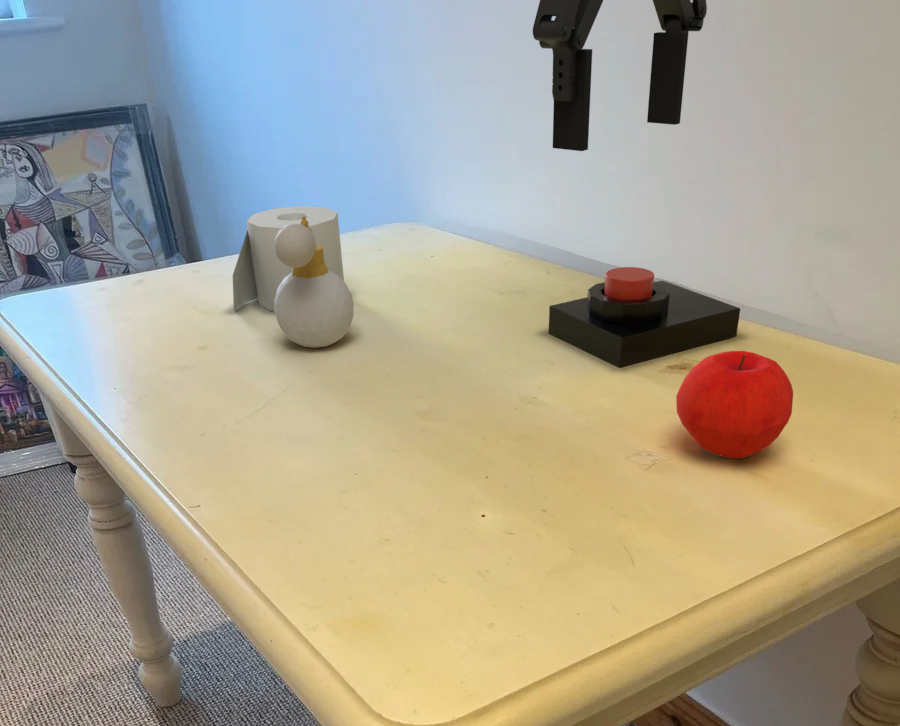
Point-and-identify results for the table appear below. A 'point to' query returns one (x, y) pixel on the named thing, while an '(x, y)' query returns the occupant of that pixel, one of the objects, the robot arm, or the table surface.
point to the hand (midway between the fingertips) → (619, 135)
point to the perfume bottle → (309, 291)
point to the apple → (735, 403)
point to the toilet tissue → (258, 259)
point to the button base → (642, 323)
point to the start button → (629, 283)
